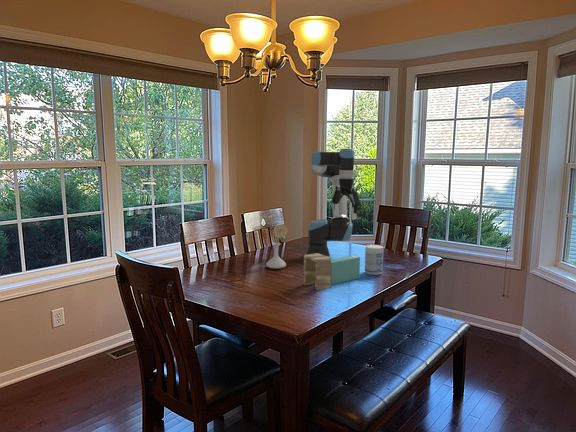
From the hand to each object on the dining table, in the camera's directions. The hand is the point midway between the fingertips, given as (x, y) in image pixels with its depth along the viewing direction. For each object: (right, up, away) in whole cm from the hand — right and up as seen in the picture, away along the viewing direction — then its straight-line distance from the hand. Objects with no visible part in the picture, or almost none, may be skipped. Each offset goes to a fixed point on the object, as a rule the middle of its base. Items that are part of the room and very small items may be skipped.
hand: (345, 217), depth 225 cm
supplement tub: (+15, -30, 0) cm, 34 cm away
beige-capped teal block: (-3, -32, -14) cm, 35 cm away
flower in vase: (-37, -28, +10) cm, 48 cm away
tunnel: (-17, -33, -23) cm, 44 cm away
